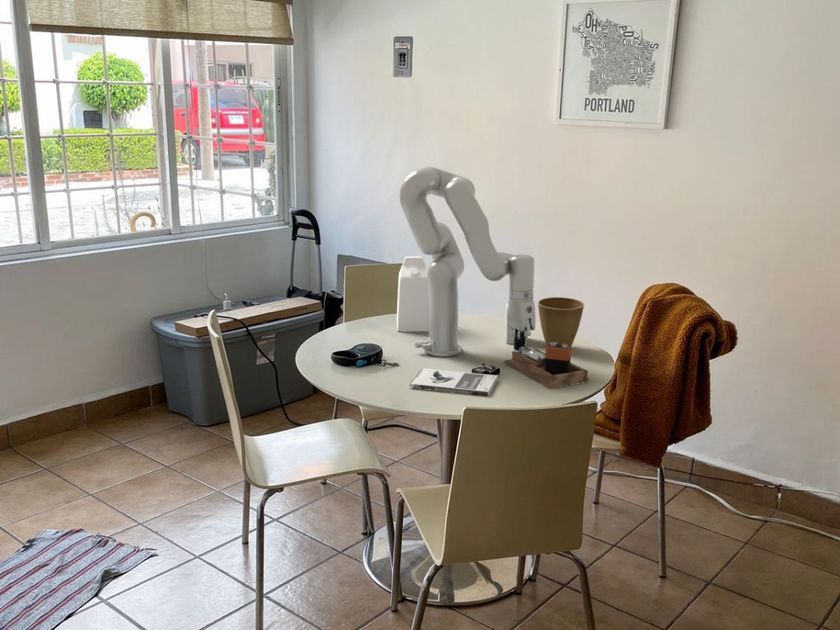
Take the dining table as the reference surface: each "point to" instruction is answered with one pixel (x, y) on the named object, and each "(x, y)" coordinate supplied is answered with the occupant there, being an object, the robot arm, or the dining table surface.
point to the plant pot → (560, 319)
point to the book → (454, 382)
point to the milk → (413, 296)
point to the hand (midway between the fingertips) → (519, 349)
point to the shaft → (532, 354)
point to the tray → (542, 376)
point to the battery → (557, 358)
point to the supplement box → (509, 330)
